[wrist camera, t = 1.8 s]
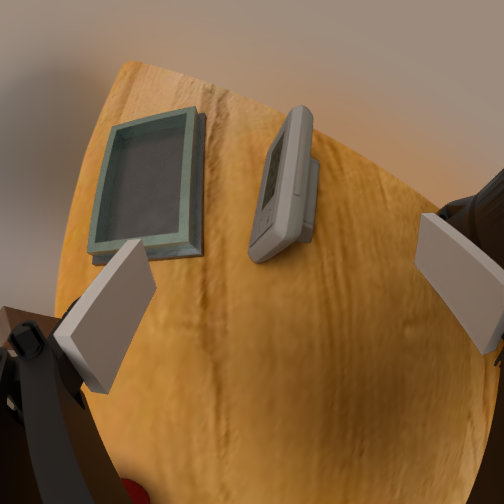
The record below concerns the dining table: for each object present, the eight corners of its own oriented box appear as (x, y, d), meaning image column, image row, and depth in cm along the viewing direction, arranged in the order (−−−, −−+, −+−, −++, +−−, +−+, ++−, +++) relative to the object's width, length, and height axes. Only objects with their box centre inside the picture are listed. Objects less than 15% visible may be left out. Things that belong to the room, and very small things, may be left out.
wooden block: (72, 334, 33) (-10, 321, 19) (85, 322, 34) (3, 304, 20) (92, 374, 32) (9, 379, 17) (107, 363, 32) (22, 364, 18)
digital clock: (272, 149, 38) (267, 93, 28) (334, 167, 37) (347, 113, 27) (225, 254, 35) (201, 218, 25) (297, 280, 33) (303, 252, 23)
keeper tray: (206, 116, 42) (200, 101, 38) (203, 256, 35) (195, 247, 31) (118, 136, 43) (109, 124, 40) (96, 266, 36) (81, 259, 33)
